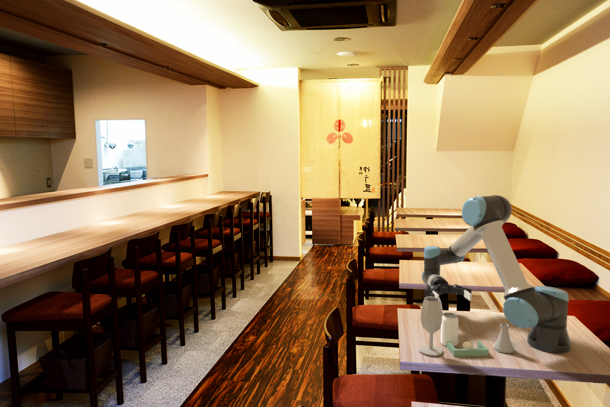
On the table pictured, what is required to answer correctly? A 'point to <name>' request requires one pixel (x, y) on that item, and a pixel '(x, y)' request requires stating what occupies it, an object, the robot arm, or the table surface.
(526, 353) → the table surface
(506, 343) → the flask
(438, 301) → the wineglass
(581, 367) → the table surface
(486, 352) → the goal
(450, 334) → the can
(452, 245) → the robot arm
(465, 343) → the ball
